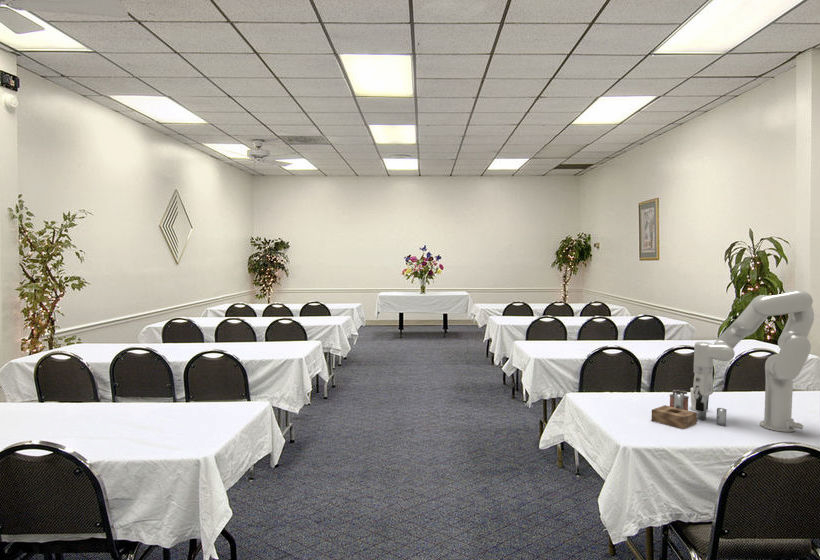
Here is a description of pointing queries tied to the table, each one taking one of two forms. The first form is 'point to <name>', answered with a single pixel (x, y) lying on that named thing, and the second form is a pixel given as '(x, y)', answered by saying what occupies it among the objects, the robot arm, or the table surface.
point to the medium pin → (678, 401)
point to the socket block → (674, 416)
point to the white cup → (693, 401)
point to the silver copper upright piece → (685, 399)
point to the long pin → (701, 414)
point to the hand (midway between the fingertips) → (701, 409)
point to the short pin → (721, 417)
